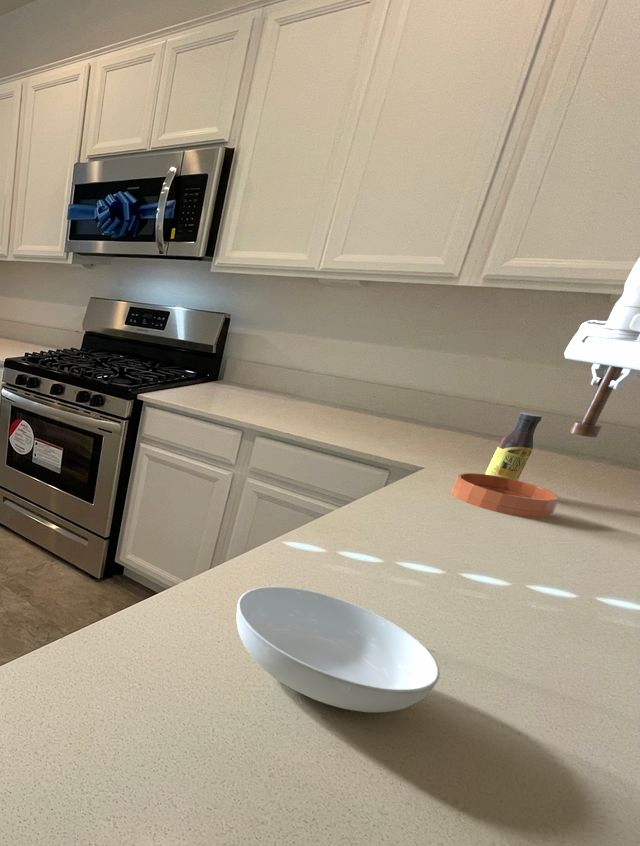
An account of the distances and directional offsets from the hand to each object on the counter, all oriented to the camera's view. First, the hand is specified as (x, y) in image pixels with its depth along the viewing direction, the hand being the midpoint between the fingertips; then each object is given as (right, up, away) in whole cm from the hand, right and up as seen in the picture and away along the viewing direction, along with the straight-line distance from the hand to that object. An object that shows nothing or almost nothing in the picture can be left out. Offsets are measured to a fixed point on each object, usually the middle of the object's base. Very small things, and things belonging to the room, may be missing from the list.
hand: (606, 387), depth 127 cm
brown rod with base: (-1, -10, +4) cm, 11 cm away
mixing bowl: (-15, -27, +9) cm, 32 cm away
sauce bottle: (+1, -23, +25) cm, 34 cm away
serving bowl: (-99, -45, -53) cm, 121 cm away
